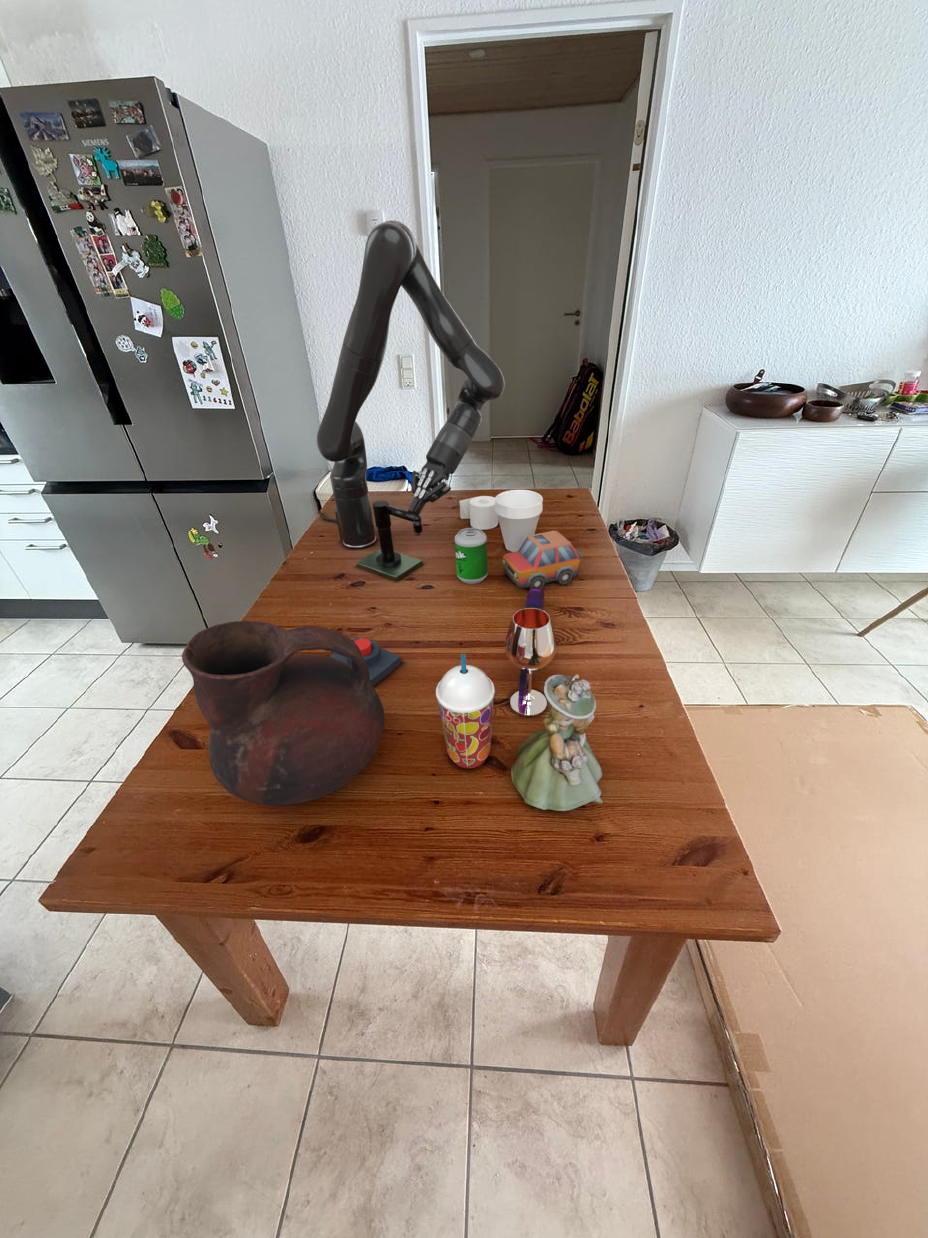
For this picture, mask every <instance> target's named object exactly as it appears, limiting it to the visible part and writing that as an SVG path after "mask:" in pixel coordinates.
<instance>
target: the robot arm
mask: <svg viewBox="0 0 928 1238" xmlns="http://www.w3.org/2000/svg"><path fill="white" fill-rule="evenodd" d="M417 243H418V242H417V241H416V239H415V237H414V234H413V232H412V231H411V230H410V228H409V227H408V226H407V225H406V224H404V223H403V222H401V221H398V220H394V219H393V220H386V221H383V222H381V223H378V224H377V225H376V226H374V227H373V228H372V229H371V231H370V232H369V234H368V236H367V238H366V242H365V245H364V246H365V247H364V255H363V261H362V269H361V273H360V279H359V287H358V292H357V296H356V299H355V302H354V306H353V308H352V310H351V311H352V312H351V314H350V317H349V320H348V324H347V327H346V331H345V333H344V337H343V341H342V345H341V349H340V352H339V356H338V360H337V361H338V362H337V367H336V370H335V374H334V378H333V383H332V387H331V392H330V396H329V400H328V403H327V405H326V409H325V411H324V413H323V416H322V419H321V422H320V424H319V427H318V431H317V433H316V445H317V449H318V451H319V452H320V455H321V456H322V458H324V459H325V460H326V461H328V462H333V463H334V464H333V467H332V470H331V471H330V474H329V478H330V479H329V480H330V485H331V490H332V494H333V499H334V504H335V508H336V509H335V510H334V514H335V518H330V517H326V516H324V514H323V512H322V510H319V511H318V512H317V514H318V515H319V516H320V517H321V518H322V519H323V520H325V521H330V522H336V524H337V529H338V533H339V538H340V542H341V543H342V544H343V546H344V547H346V548H347V549H353V550H354V549H355V550H356V549H357V550H359V549H364V548H368V547H371V546H372V545H374V544H375V543H376V542H377V535H376V529H375V527H376V523H375V521H374V515H373V511H372V510H373V509H372V506H371V505H372V504H371V499H370V491H369V488H368V481H367V471H368V459H367V452H366V442H365V437H364V433H363V431H362V428H361V426H360V424H359V423H358V422H357V417H358V415H359V413H360V410H361V408H362V407H363V405H364V404H365V401H366V400H367V399H368V397H369V396H370V393H371V392H372V390H373V388H374V386H375V384H376V382H377V380H378V377H379V375H380V372H381V369H382V366H383V363H384V360H385V356H386V351H387V346H388V341H389V334H390V333H389V332H390V323H391V316H392V313H393V312H392V311H393V308H394V305H395V303H396V300H397V297H398V293H399V291H400V289H401V287H402V289H403V290H404V291H405V293H406V294H407V295H408V296H409V298H410V300H411V301H412V303H413V304H414V305H415V307H416V309H417V311H418V313H419V315H420V316H421V318H422V320H423V322H424V324H425V326H426V327H425V328H427V331H428V332H429V334H430V336H431V338H432V339H433V341H434V343H435V345H436V346H437V347H438V349H439V350H440V352H441V353H442V354H443V356H444V357H445V358H446V360H447V362H448V363H449V364H450V365H451V366H452V367H453V368H454V369H455V370H459V371H461V372H463V373H464V374H465V375H466V378H465V380H464V381H463V383H462V385H461V387H460V390H459V393H458V396H457V399H456V402H455V406H454V407H453V409H452V410H451V412H450V414H449V416H448V418H447V420H446V421H445V423H444V424H443V426H442V427H441V428H440V430H439V431H438V434H437V435H436V436H435V439H434V441H433V442H432V444H431V446H430V447H429V449H428V451H427V453H426V455H425V459H426V463H425V464H424V465H423V466H422V467H421V470H419V471H417V470H413V471H412V472H411V485H410V487H411V489H410V491H411V493H412V494H413V495H414V498H413V499H412V501H411V503H410V504H409V507H408V510H407V511H409V512H412V513H415V514H418V515H420V514H421V513H422V510H423V509H424V507H425V505H426V504H428V503H432V504H433V503H435V502H436V501H437V500H439V499H441V498H442V497H443V496H444V495H446V494H447V493H450V491H451V490H452V487H451V486H450V485H449V482H448V481H449V480H450V475H453V474H455V472H456V470H457V468H458V467H459V465H460V464H461V461H462V460H463V458H464V456H465V455H466V453H467V451H468V449H469V446H470V444H471V442H472V439H473V438H474V437H475V434H476V432H477V430H478V429H479V427H480V425H481V423H482V420H483V416H482V414H481V412H482V410H483V407H484V405H485V404H486V403H487V402H490V401H495V400H497V399H499V398H500V397H501V396H502V394H503V392H504V390H505V385H506V384H505V383H506V382H505V378H504V375H503V373H502V370H501V369H500V367H499V365H497V364H496V362H495V361H494V360H493V359H492V358H491V357H490V356H489V355H488V354H487V353H486V352H485V351H484V350H483V349H481V347H479V346H478V344H477V343H476V342H475V340H474V338H473V336H472V334H470V331H469V330H468V329H467V327H466V326H465V325H464V323H463V321H462V320H461V319H460V317H459V315H458V314H457V313H456V311H455V310H454V308H453V307H452V305H451V304H450V302H449V301H448V299H447V298H446V296H445V295H444V293H443V291H442V290H441V289H440V286H439V285H438V283H437V281H436V280H435V278H434V276H433V274H432V273H431V270H430V269H429V267H428V265H427V263H426V261H425V258H424V257H423V254H422V252H421V250H420V248H419V245H418V244H417Z"/></svg>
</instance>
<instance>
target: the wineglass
mask: <svg viewBox="0 0 928 1238" xmlns="http://www.w3.org/2000/svg"><path fill="white" fill-rule="evenodd" d="M504 651H505V655H506V657H507V658H508V661H510V663H511V664H512V665H514V667H516V668H518V669H519V670H520V669H522V670H525V671H526V672H527V682H526V688H525V692H524V697H523V703H522V706H521V708H520V709H519V708H518V698H519V690H518V691H515V692H514V693H513V694H512V695H511V696H510V699H509V704H510V707H511V709H512V710H513V711H514V712H515V713H517V714H519V715H521V716H526V717H534V716H537V715H540V714H541V713H543V712H544V711H545V710H546V708H547V707H548V700H547V698H546V696H545V694H544V693H542V692H540V691H538V690H535V689H532V683H533V673H534V672H536V671H539V670H541V669H543V668H545V667H547V666H548V665H549V664H550V663H551V662H552V661H553V659H554V657H555V655H556V653H557V640H556V636H555V632H554V626H553V624H552V620H551V616H550V614H548V612H546V611H545V610H543V609H542V610H540V609H536V608H525V607H524V608H521V609H519V610H517V611H515V612H514V614H513V615H512V619H511V621H510V624H509V627H508V630H507V633H506V637H505V640H504Z"/></svg>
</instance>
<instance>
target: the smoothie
mask: <svg viewBox="0 0 928 1238" xmlns="http://www.w3.org/2000/svg"><path fill="white" fill-rule="evenodd" d="M495 693H496V689H495V684H494V683H493V681H492V680H491V678H490V677H488V676H487V674H486V672H484V671H483V670H482V669H480V668H479V667H477V666H474V665H472V664H467V659H466V654H465V653H462V654H460V664H459V665H456V666H454V667H452V668H451V669H448V670H447V671H446V672H445V673H444V675H443V676H442V677H441V680H440V681H439V682H438V684H437V686H436V688H435V697H436V699H437V705H438V706H437V707H438V710H439V715H440V722H441V727H442V732H443V737H444V742H445V747H446V753H447V756H449V759H450V760H451V761H452V762H453V763H454V764H455V765H456V766H459V767H460V768H462V769H474V768H477V767H480V766H481V765H482V764H483V763H485V762H486V760H487V758H488V757H489V756H490V753H491V749H492V735H493V734H492V733H493V721H494V717H493V716H494V703H495V702H494V701H495Z"/></svg>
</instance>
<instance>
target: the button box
mask: <svg viewBox="0 0 928 1238" xmlns="http://www.w3.org/2000/svg"><path fill="white" fill-rule="evenodd" d="M358 639H362V638H361V637H359V636H356V637H354V638H353V639H352V640H353V641H356V640H358ZM368 640H369V641H370V642H371V647H372V652H371V653H370V654H369V655H366V656H363V659H364V660H365V662H366V664H367V666H368V670H369V674H370V677H369V683H370V684H371V685H372V687H373V688H374V686H376V685H377V684H378V683H379V682H381V681H382V680H383V679H384V678H386V677H387V676H388V675H389V674H391V673H392V672H393V671H394V670H395V669H396V668H397V667H399V666H400V665H401V664H402V657H401V656H400V655H398V654H396V653H393V652H391V651H389V650H387V649H384V648H383V647H380V645H379V643H378V642H377V641H375V640H372V639H368ZM328 657H332V658H335V659H337V660H340V661H342V662H344V663H346V664H348V665H350V666H351V667H352V660H351V659H350V658H348V657H345V656H342V655H340V654H337V653H334V652H332V654H330V655H329V656H328Z"/></svg>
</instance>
